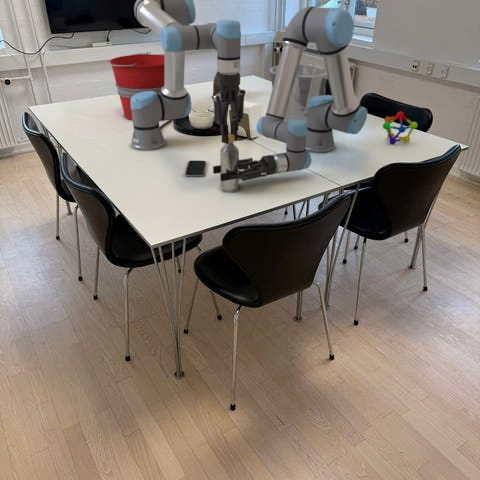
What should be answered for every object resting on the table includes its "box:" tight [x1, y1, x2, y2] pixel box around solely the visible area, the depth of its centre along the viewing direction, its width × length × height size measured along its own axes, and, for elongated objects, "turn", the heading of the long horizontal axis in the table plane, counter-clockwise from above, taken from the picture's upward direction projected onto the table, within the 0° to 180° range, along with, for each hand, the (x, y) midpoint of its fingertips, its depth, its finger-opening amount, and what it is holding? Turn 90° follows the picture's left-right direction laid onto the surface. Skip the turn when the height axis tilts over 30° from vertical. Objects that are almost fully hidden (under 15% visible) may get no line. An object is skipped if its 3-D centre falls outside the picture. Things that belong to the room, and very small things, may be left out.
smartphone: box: [184, 160, 207, 177], centre depth 182 cm, size 7×1×15 cm
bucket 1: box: [106, 51, 164, 121], centre depth 240 cm, size 35×35×30 cm
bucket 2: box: [269, 63, 328, 123], centre depth 226 cm, size 30×30×28 cm
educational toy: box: [382, 110, 418, 145], centre depth 207 cm, size 16×13×15 cm
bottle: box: [219, 142, 240, 193], centre depth 162 cm, size 7×7×20 cm
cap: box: [228, 133, 236, 143], centre depth 157 cm, size 4×4×2 cm
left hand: (229, 141), depth 158 cm, fingers closed on cap, 4 cm apart
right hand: (217, 173), depth 162 cm, fingers closed on bottle, 7 cm apart
